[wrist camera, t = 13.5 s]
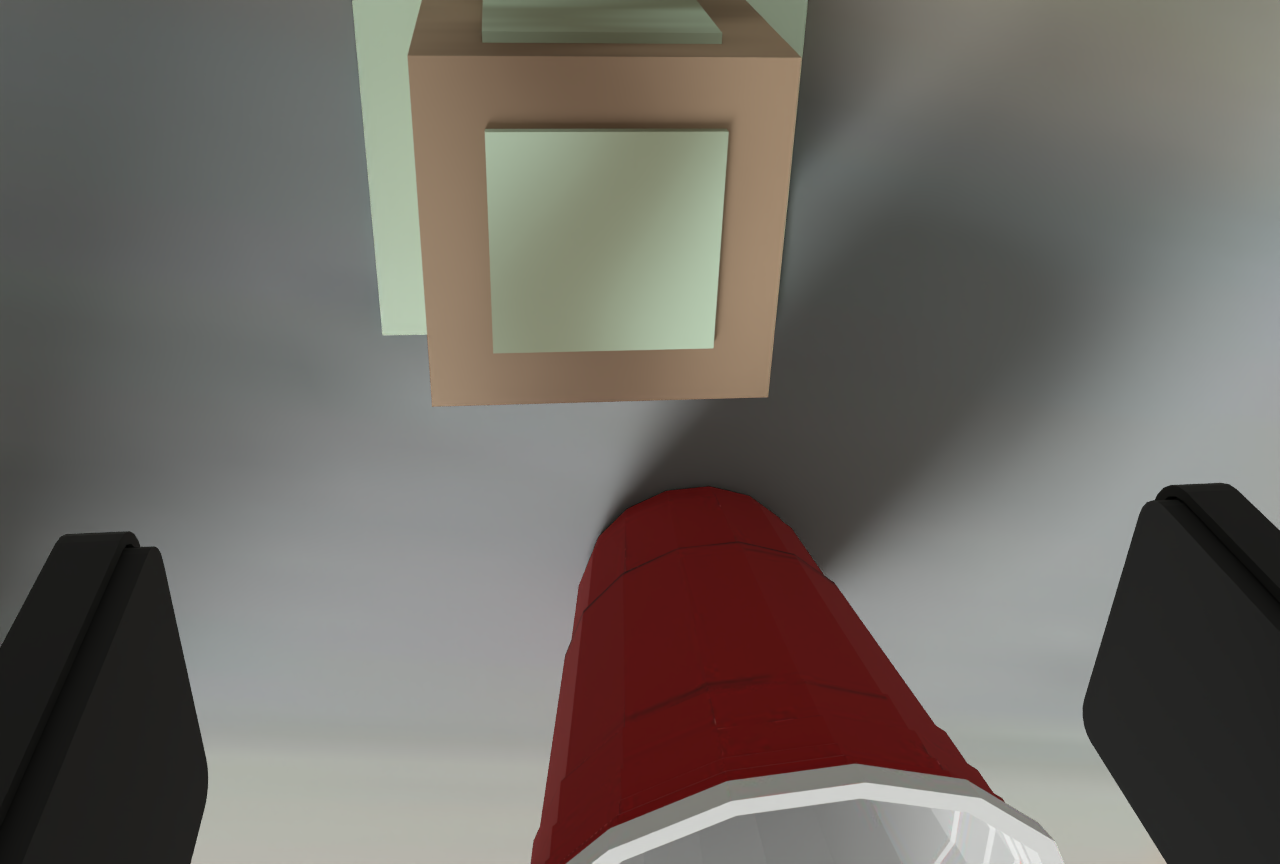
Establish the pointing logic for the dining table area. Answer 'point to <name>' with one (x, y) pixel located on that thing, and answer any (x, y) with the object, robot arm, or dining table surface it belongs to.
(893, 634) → the dining table surface
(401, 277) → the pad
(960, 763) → the plastic cup
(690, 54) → the letter block
